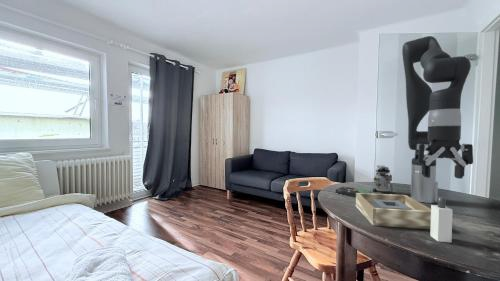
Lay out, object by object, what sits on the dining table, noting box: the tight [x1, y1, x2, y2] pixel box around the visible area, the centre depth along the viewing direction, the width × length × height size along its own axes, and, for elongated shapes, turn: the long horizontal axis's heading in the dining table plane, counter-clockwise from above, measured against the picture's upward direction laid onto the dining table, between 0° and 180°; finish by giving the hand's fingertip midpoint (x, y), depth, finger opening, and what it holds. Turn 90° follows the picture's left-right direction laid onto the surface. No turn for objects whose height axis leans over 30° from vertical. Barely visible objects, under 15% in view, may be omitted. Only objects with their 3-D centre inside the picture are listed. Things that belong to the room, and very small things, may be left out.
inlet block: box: [372, 199, 412, 210], centre depth 85 cm, size 10×10×4 cm
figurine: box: [372, 164, 394, 195], centre depth 116 cm, size 9×12×15 cm
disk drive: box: [335, 186, 372, 198], centre depth 115 cm, size 10×3×15 cm
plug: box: [429, 196, 454, 243], centre depth 67 cm, size 4×4×13 cm
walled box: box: [355, 193, 431, 230], centre depth 85 cm, size 20×20×6 cm
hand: (442, 177), depth 66 cm, fingers open, 8 cm apart
